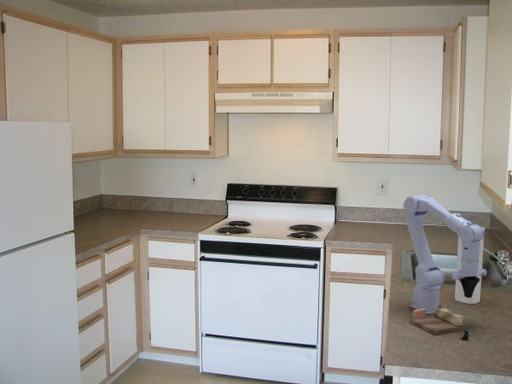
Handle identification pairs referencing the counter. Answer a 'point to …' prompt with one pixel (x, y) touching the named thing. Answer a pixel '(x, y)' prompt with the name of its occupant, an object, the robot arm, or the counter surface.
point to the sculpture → (465, 335)
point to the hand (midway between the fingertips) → (468, 297)
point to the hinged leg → (448, 315)
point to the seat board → (436, 325)
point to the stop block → (419, 313)
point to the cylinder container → (459, 289)
